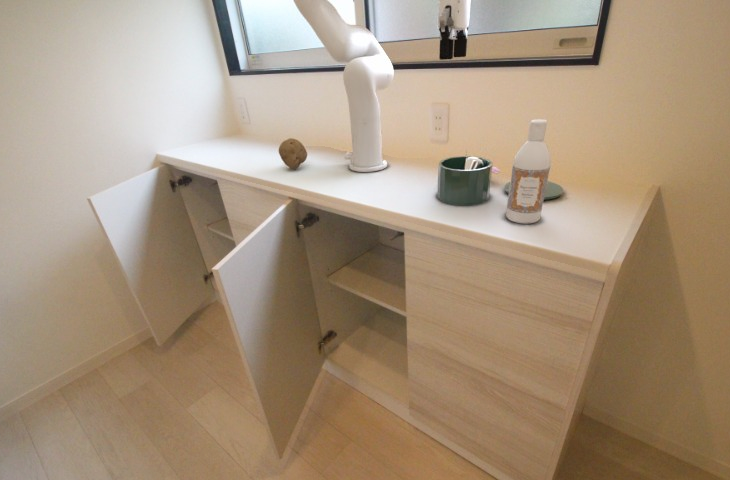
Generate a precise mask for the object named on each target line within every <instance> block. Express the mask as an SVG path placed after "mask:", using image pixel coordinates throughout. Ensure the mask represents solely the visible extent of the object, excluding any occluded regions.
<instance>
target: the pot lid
mask: <svg viewBox="0 0 730 480" xmlns="http://www.w3.org/2000/svg"><path fill="white" fill-rule="evenodd" d="M510 182H511V181H509V182H507V183H505V185H504V187H503V188H504V192H505V193H507V194H508V195H509V189H510ZM563 194H564V188H563V187H562V185H560V184H558V183H556V182H552V181H548V180H547V185H546V190H545V195H544V200H552V199H556V198H559V197H561V196H562V195H563Z"/></svg>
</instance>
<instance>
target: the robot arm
mask: <svg viewBox="0 0 730 480" xmlns="http://www.w3.org/2000/svg"><path fill="white" fill-rule="evenodd" d="M293 3H294V5H295V6H296V9H297V10H298V11H299V13H300V14H301V16H302V17H303V18H304V20H305V21H306V22H307V23H308V24H309V26H310V27H311V29H312V30H313V32H314V33H315V35H316V36H317V38H318V39H319V41H320V42H321V44H322V45H323V47H324V48H325V50H326V51H327V53H328V54H329V56H330V57H331V58H332V59H333V60H334V61H335V62H337V63H342V64H343V63H345V64H346V63H347V64H346V65H345V67H344V69H343V75H342V77H343V79H342V80H343V85H344V88H345V89H344V90H345V92H346V93H345V94H346V96H347V102H348V111H349V121H350V122H349V123H350V135H351V145H352V147H351V148H352V152H350V151H347V152H345V154H344V160H349V161H350V163H349V166H348V167H349V170H351V171H353V172H359V173H370V172H377V171H381V170H384V169H386V168H387V167H388V161H387V160H385V159H383V141H382V140H383V139H382V117H381V105H380V100H379V98H378V94H377V92H378V91H382V90H385V89H387V88H388V87H389V86H391V84H392V83H393V80H394V75H395V71H394V66H393V64H392V62H391V59H390V58H389V57H388V55H387V54H386V52H385V51H384V49H383V48H382V46H381V45H380V43H379V42H378V40H377V38H376V37H375V35H374V34H373V33H372V32H371V31H370V30H369V29H368V28H367V27H365V26H363V25H360V24H349V23H347V22H346V21H345V20H344V18H342V16H341V15H340V13H339V12H338V10H337V9H336V7H335V6H334V5H333V4H332V3H331V2H330V1H329V0H293ZM470 19H471V0H438V4H437V21H436V28H437V30H438V31H439V55H438V56H439V60H440V61H443V60H444V61H445V60H452V59H453V58H465V57H467V51H468V50H467V48H468V47H467V46H468V36H469V33H468V31H469V25H470ZM454 34H455V35H454ZM453 36H454V37H455V38H453Z"/></svg>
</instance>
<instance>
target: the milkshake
mask: <svg viewBox="0 0 730 480" xmlns="http://www.w3.org/2000/svg"><path fill="white" fill-rule="evenodd" d="M465 156H466V160H465V164H464V167H463V170H474V169H480V168H482V167H483V161H482V160H480V159H479V158H477V157H478V156H474V157H468V158H467V156H468V150H467V149H466V150H465Z"/></svg>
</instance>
